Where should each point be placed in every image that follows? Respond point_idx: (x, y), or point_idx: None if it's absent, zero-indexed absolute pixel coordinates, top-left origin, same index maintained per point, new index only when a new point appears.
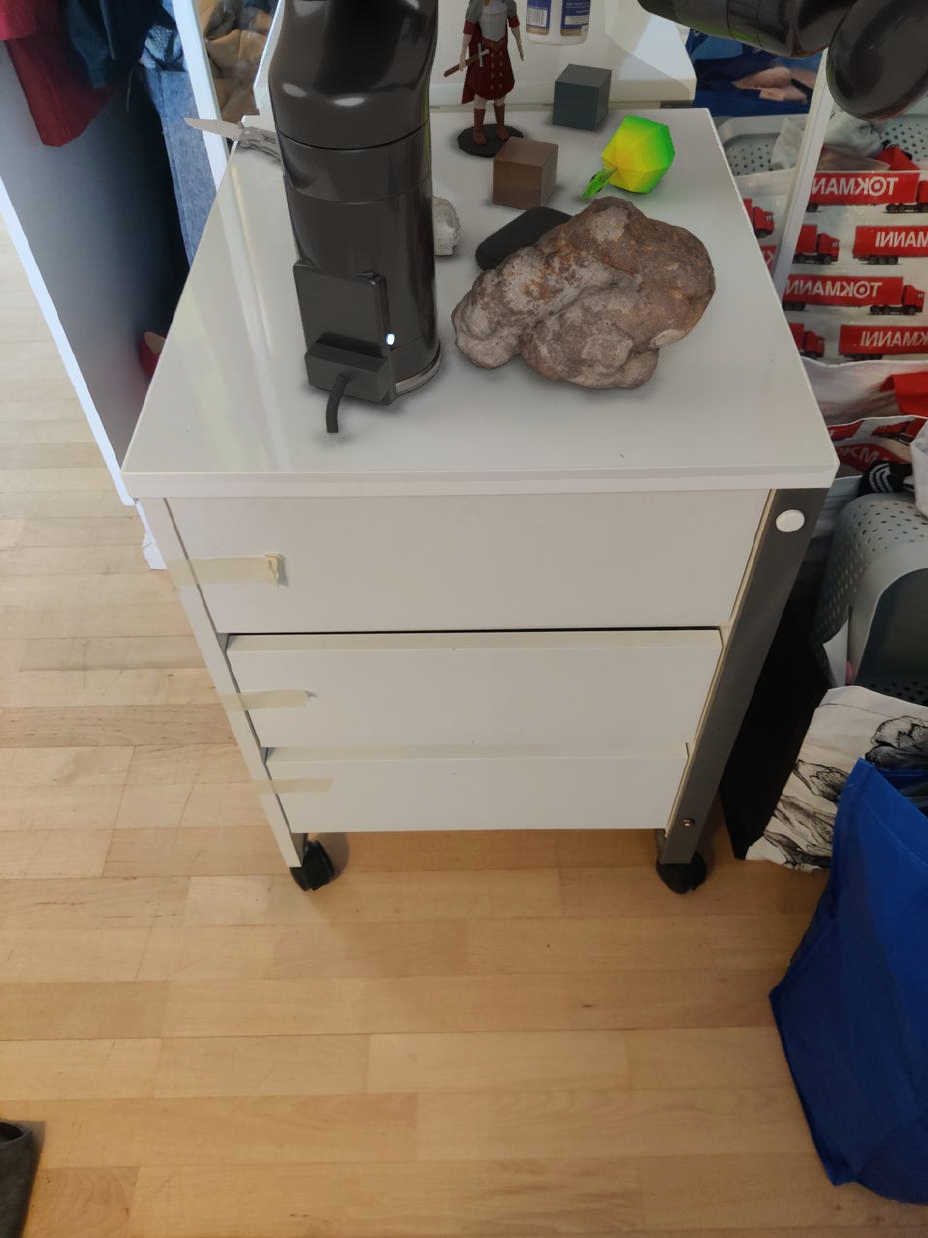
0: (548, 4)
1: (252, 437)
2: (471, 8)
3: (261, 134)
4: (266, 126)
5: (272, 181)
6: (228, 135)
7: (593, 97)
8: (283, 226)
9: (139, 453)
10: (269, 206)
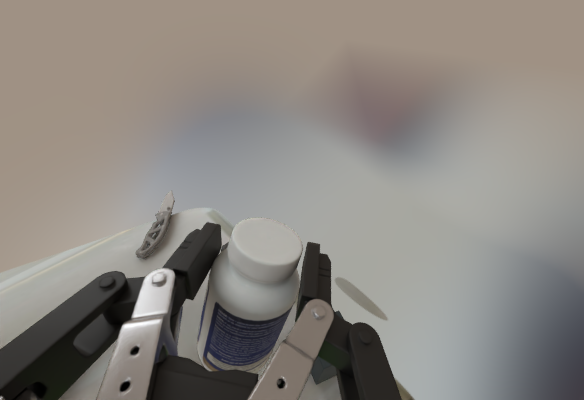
0: (201, 323)
1: None
2: (223, 247)
3: (162, 219)
4: (190, 214)
5: (121, 248)
6: (160, 209)
7: (319, 367)
8: (48, 288)
9: None
10: (82, 265)
